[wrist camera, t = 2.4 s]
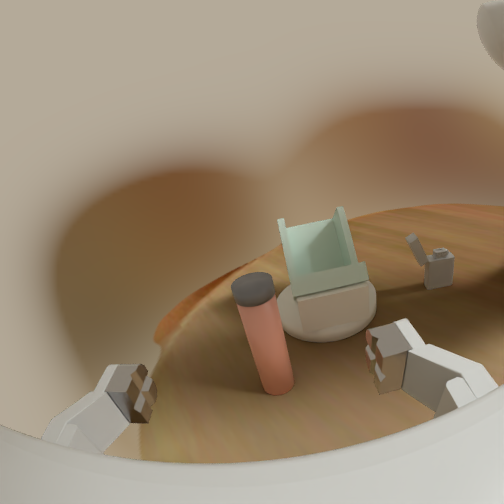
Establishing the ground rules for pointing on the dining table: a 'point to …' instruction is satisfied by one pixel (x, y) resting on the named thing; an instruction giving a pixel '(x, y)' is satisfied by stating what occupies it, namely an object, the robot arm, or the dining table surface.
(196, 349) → the dining table surface
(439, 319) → the dining table surface
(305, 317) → the green holder stand
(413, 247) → the lighter
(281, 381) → the marker
